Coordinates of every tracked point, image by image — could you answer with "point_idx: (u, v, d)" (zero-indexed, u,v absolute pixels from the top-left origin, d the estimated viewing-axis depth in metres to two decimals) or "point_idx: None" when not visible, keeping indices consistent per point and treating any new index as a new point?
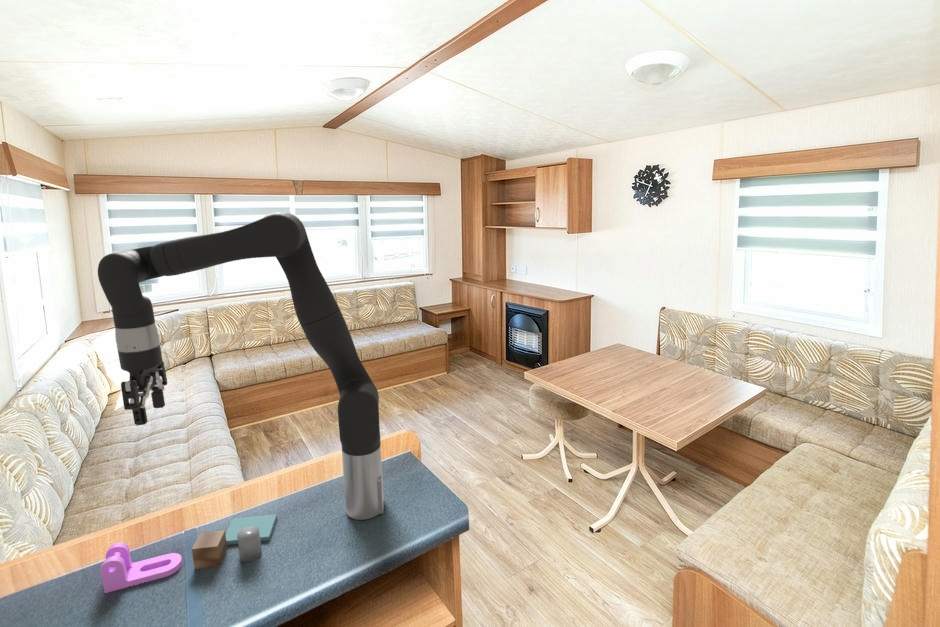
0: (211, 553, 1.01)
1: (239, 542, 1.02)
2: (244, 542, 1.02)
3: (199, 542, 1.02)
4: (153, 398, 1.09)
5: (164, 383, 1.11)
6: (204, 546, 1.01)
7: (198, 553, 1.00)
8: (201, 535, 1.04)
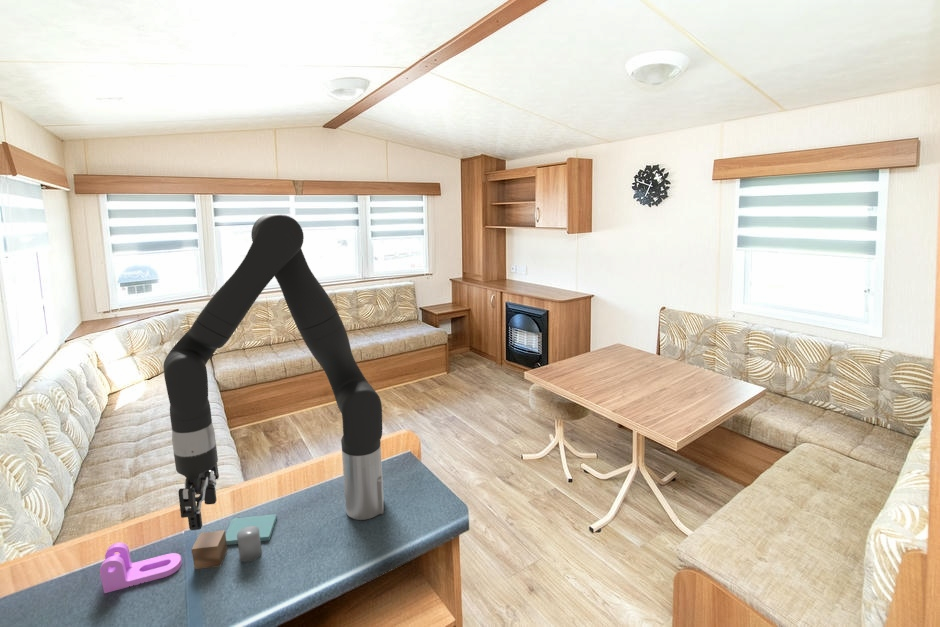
0: (211, 553, 1.01)
1: (239, 542, 1.02)
2: (244, 542, 1.02)
3: (199, 542, 1.02)
4: (205, 494, 1.04)
5: (216, 477, 1.06)
6: (204, 546, 1.01)
7: (198, 553, 1.00)
8: (201, 535, 1.04)
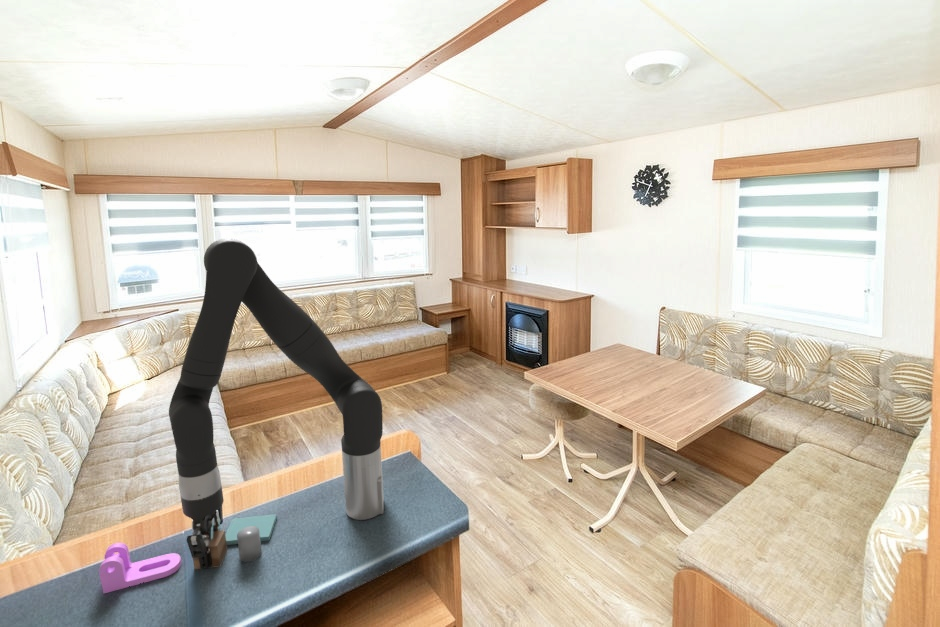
0: (211, 553, 1.01)
1: (239, 542, 1.02)
2: (244, 542, 1.02)
3: None
4: None
5: (220, 522, 1.07)
6: None
7: None
8: None
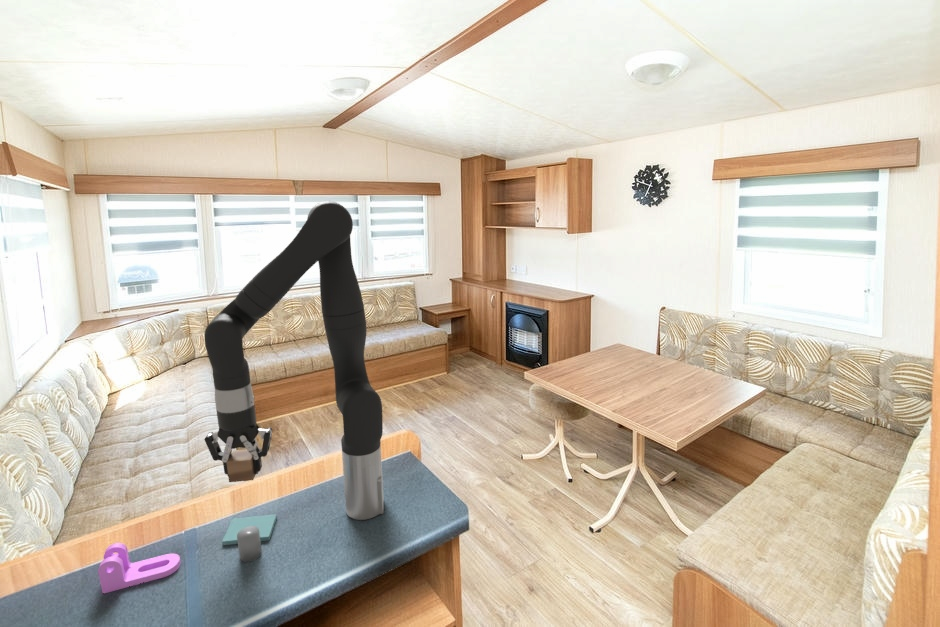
0: None
1: (239, 542, 1.02)
2: (244, 542, 1.02)
3: (240, 451, 1.09)
4: None
5: (261, 453, 1.08)
6: (231, 455, 1.08)
7: None
8: None
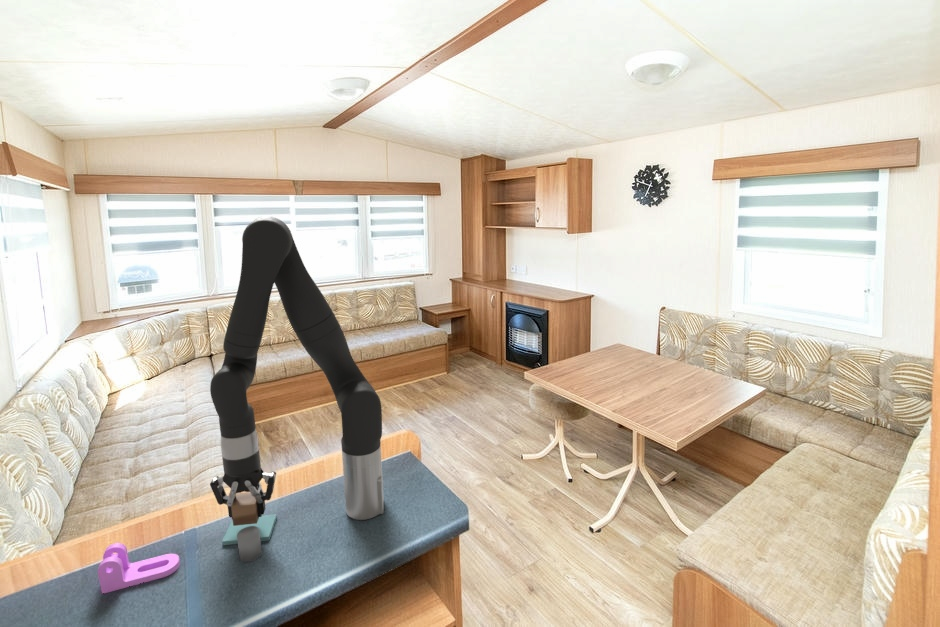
0: None
1: (239, 542, 1.02)
2: (244, 542, 1.02)
3: (244, 494, 1.12)
4: None
5: None
6: (236, 499, 1.10)
7: None
8: None
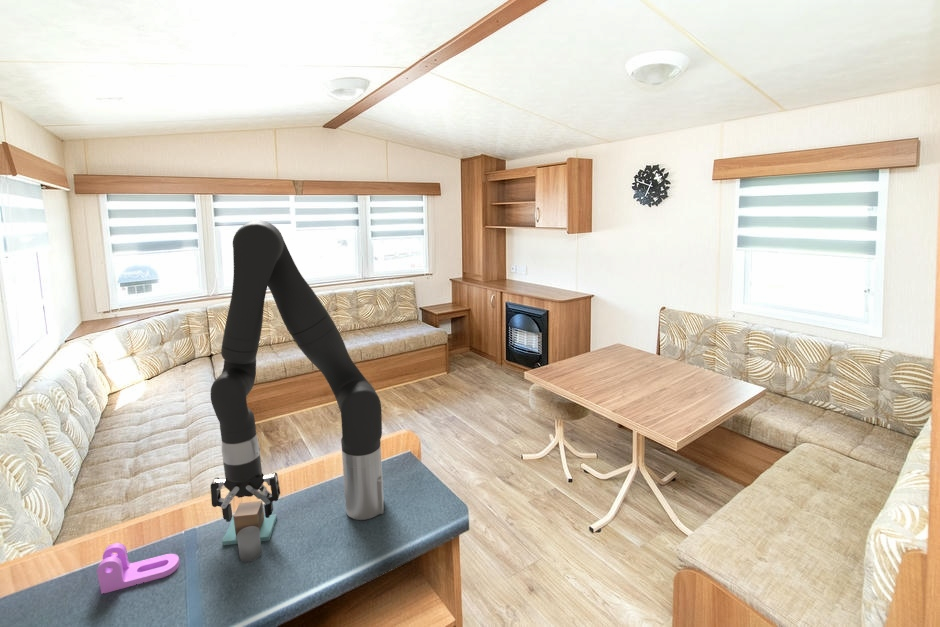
0: None
1: (239, 542, 1.02)
2: (244, 542, 1.02)
3: (247, 504, 1.13)
4: None
5: (273, 498, 1.11)
6: (238, 509, 1.11)
7: None
8: (257, 502, 1.13)
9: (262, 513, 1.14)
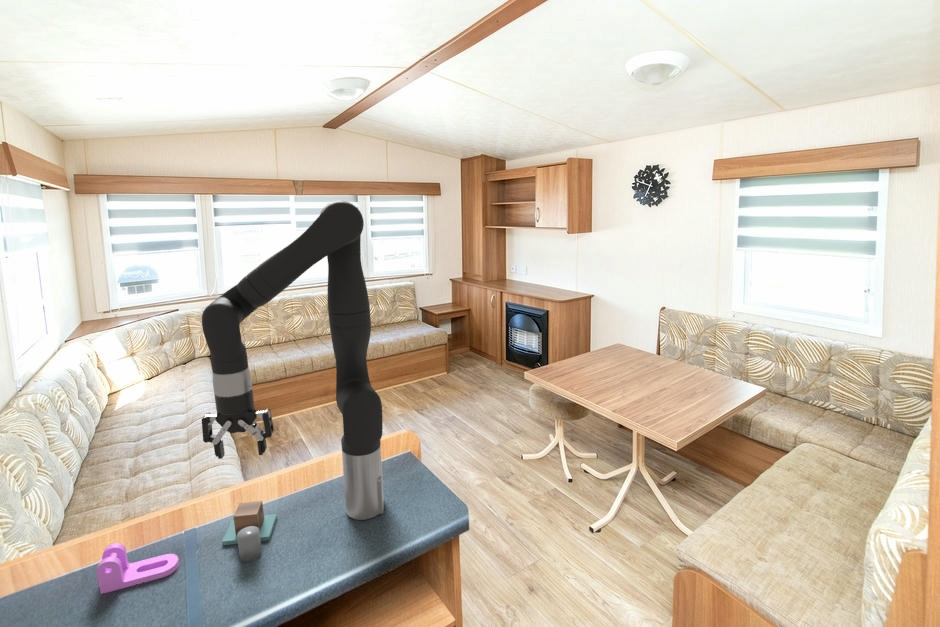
0: None
1: (239, 542, 1.02)
2: (244, 542, 1.02)
3: (247, 504, 1.13)
4: None
5: (266, 434, 1.08)
6: (238, 509, 1.11)
7: None
8: (257, 502, 1.13)
9: (262, 513, 1.14)
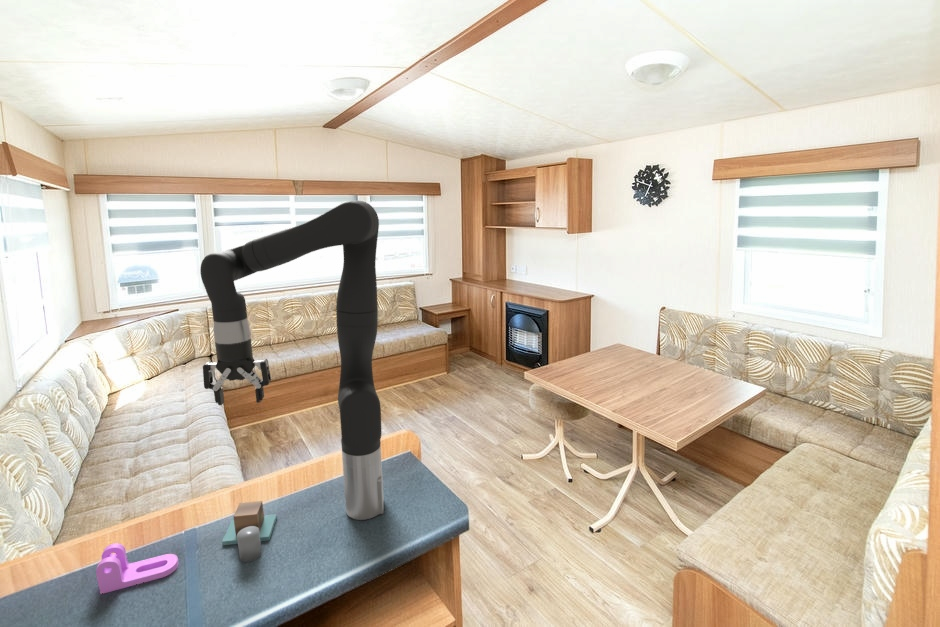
0: None
1: (239, 542, 1.02)
2: (244, 542, 1.02)
3: (247, 504, 1.13)
4: None
5: None
6: (238, 509, 1.11)
7: None
8: (257, 502, 1.13)
9: (262, 513, 1.14)
